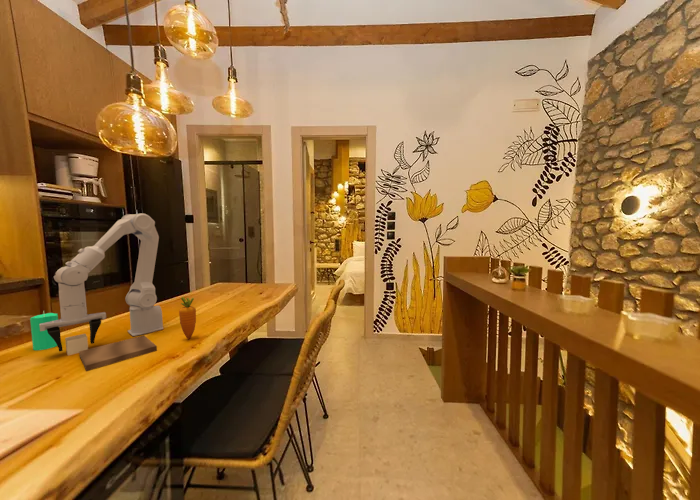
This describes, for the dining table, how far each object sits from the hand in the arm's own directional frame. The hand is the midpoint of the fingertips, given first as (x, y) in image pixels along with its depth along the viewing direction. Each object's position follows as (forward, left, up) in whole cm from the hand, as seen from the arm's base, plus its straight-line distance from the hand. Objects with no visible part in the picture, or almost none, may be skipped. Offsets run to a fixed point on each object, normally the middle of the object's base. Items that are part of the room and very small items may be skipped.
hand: (77, 346), depth 85 cm
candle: (+6, -13, -2) cm, 14 cm away
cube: (0, 0, -2) cm, 2 cm away
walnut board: (-8, +13, -1) cm, 15 cm away
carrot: (-26, +18, -2) cm, 32 cm away
